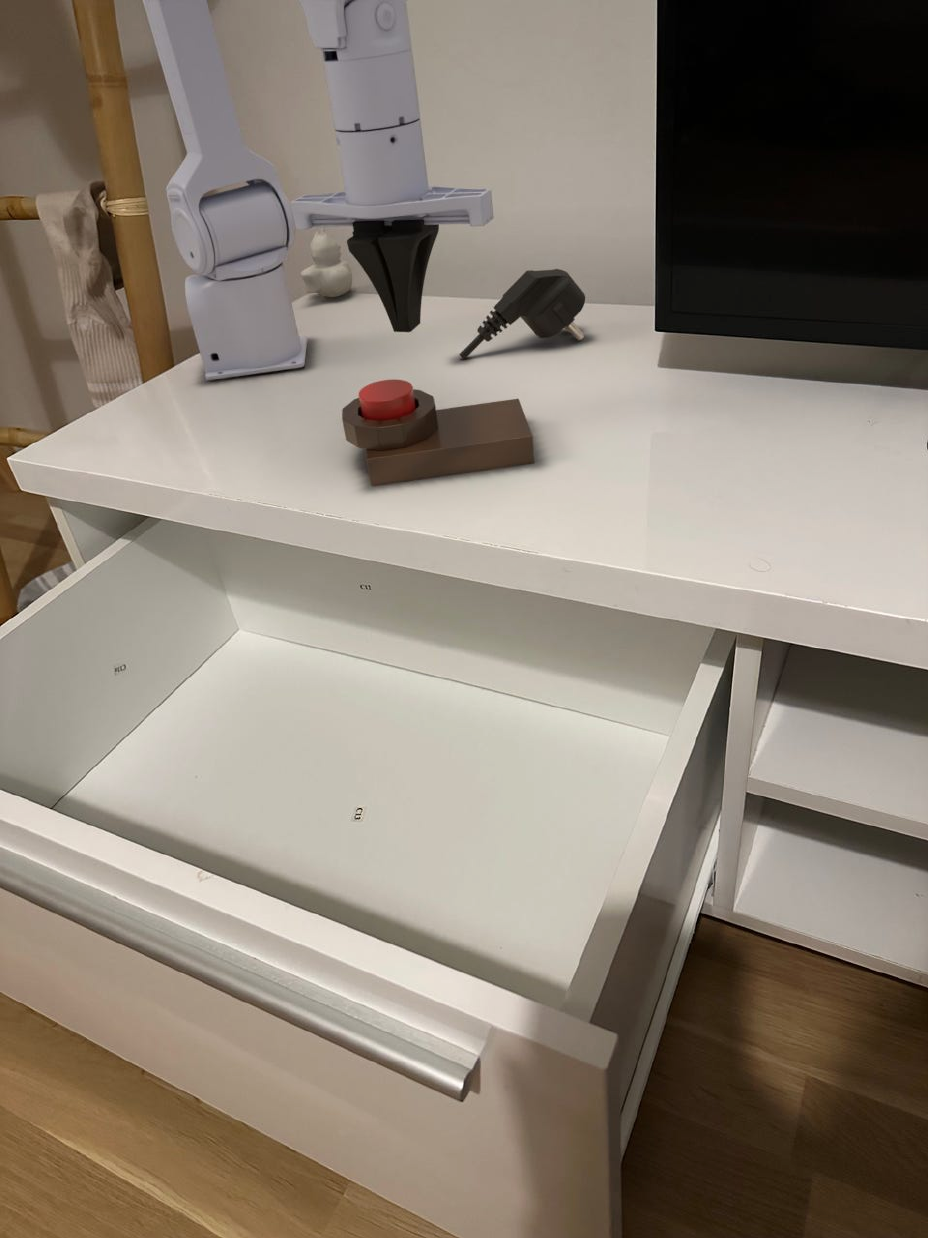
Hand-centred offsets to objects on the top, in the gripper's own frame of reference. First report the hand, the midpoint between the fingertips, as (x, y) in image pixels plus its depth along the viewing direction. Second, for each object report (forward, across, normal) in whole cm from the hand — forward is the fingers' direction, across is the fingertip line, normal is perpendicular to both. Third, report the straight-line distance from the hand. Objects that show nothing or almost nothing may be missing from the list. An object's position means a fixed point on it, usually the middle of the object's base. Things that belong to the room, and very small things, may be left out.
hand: (407, 327), depth 69 cm
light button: (+5, 0, +4) cm, 7 cm away
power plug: (+9, -2, -18) cm, 21 cm away
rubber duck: (+8, +25, -32) cm, 41 cm away
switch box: (+8, -4, +4) cm, 10 cm away
